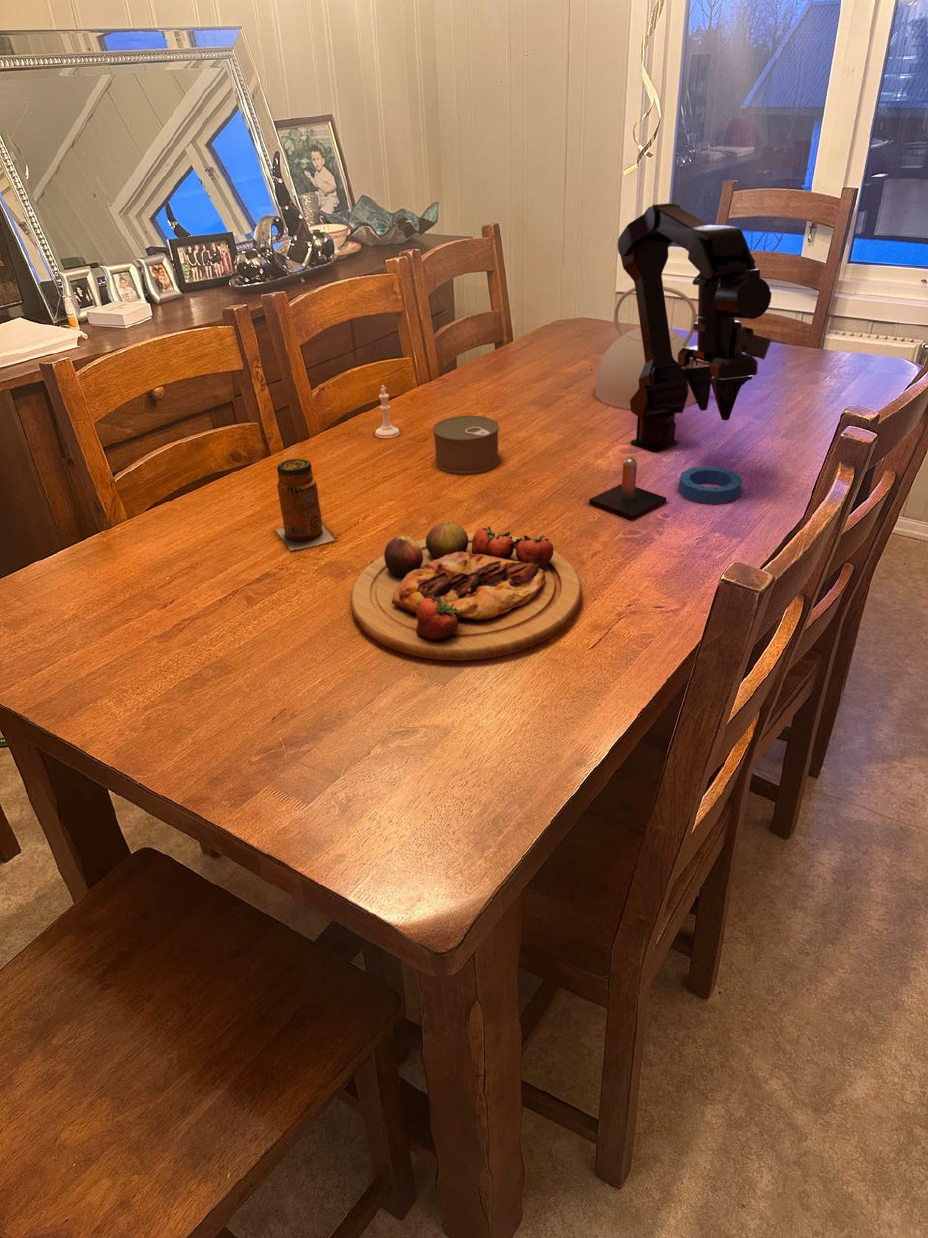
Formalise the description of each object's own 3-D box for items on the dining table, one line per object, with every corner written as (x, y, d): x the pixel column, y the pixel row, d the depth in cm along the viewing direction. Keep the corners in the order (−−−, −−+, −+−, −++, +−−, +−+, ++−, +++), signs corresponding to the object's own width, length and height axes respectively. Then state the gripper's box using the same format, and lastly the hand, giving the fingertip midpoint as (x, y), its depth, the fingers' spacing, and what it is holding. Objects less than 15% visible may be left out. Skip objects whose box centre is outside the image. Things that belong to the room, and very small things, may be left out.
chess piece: (371, 436, 176) (366, 388, 170) (382, 428, 179) (377, 380, 174) (393, 439, 174) (388, 390, 168) (403, 430, 178) (399, 382, 172)
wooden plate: (509, 694, 103) (508, 636, 98) (303, 624, 118) (294, 571, 113) (618, 574, 125) (621, 522, 121) (434, 528, 140) (431, 480, 136)
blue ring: (666, 492, 148) (668, 479, 146) (701, 474, 153) (703, 461, 152) (717, 509, 141) (719, 496, 140) (751, 490, 147) (753, 477, 146)
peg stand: (589, 504, 145) (590, 458, 141) (623, 487, 150) (626, 443, 146) (631, 520, 139) (635, 473, 135) (666, 503, 144) (670, 457, 140)
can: (467, 445, 170) (465, 410, 166) (512, 460, 162) (512, 424, 158) (422, 463, 163) (419, 428, 159) (467, 480, 155) (465, 444, 152)
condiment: (318, 520, 144) (308, 452, 138) (335, 541, 138) (325, 470, 131) (275, 531, 142) (263, 462, 135) (290, 552, 135) (278, 481, 129)
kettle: (725, 386, 192) (738, 278, 180) (689, 418, 176) (701, 303, 164) (620, 372, 204) (626, 270, 192) (577, 401, 188) (581, 292, 176)
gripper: (793, 314, 130) (787, 419, 136) (740, 306, 147) (737, 400, 153) (721, 321, 129) (718, 427, 135) (676, 313, 146) (676, 407, 152)
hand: (714, 414), depth 144 cm, fingers open, 9 cm apart
